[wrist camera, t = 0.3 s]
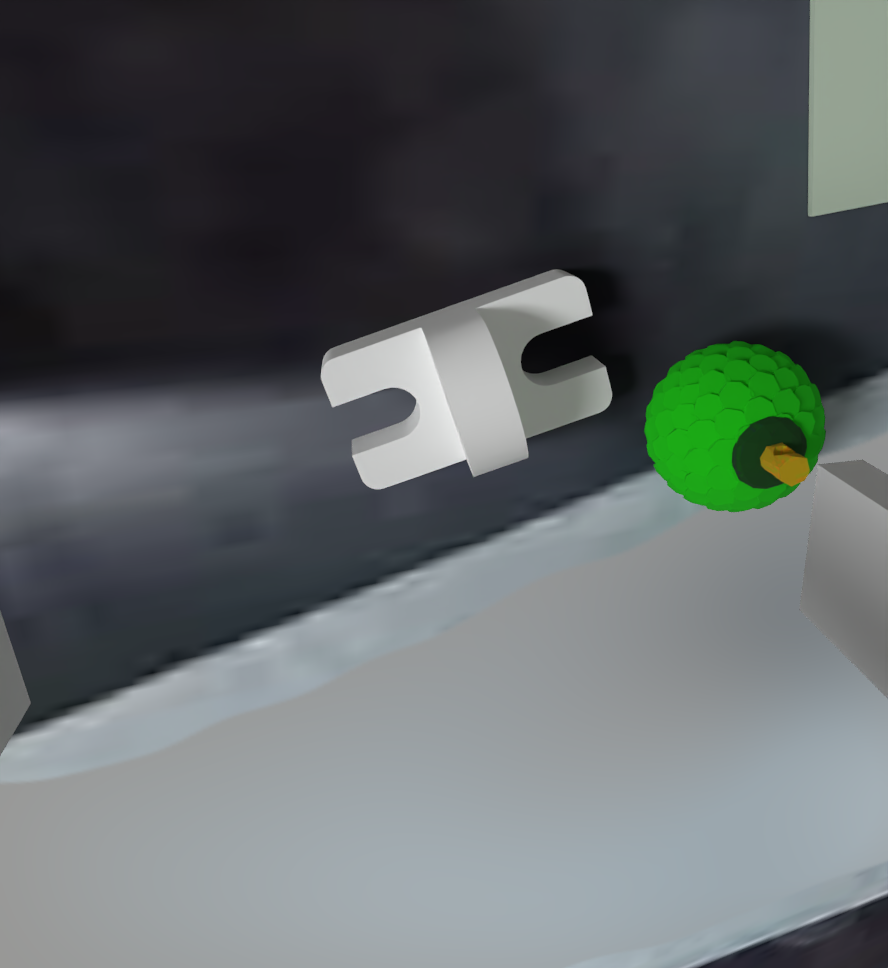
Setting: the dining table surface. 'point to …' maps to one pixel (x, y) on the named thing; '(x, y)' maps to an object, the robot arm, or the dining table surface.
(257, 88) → the dining table surface
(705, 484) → the ornament
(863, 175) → the mat
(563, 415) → the slotted bracket
